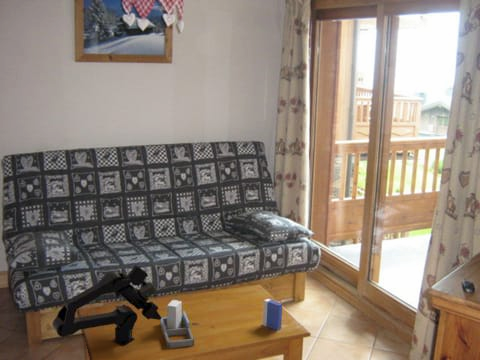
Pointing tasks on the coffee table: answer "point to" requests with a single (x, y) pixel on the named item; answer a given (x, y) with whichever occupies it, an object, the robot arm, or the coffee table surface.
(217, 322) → the coffee table surface
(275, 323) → the walkman
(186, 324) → the frame
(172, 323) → the skincare box
